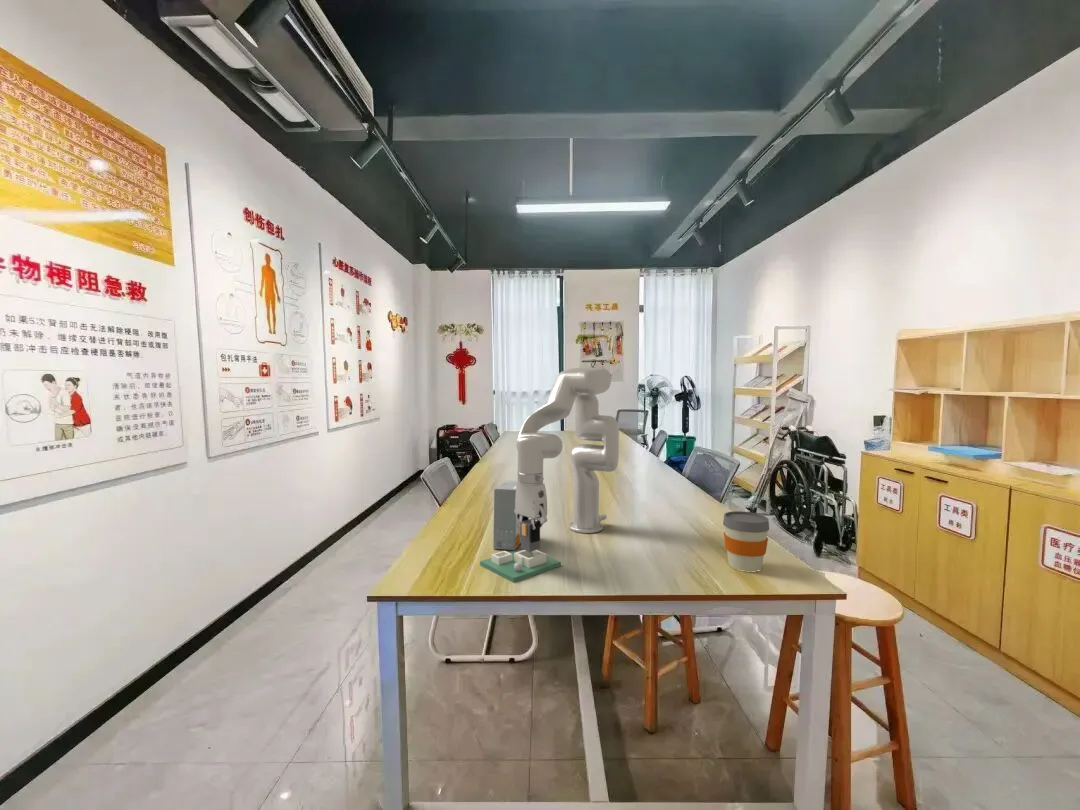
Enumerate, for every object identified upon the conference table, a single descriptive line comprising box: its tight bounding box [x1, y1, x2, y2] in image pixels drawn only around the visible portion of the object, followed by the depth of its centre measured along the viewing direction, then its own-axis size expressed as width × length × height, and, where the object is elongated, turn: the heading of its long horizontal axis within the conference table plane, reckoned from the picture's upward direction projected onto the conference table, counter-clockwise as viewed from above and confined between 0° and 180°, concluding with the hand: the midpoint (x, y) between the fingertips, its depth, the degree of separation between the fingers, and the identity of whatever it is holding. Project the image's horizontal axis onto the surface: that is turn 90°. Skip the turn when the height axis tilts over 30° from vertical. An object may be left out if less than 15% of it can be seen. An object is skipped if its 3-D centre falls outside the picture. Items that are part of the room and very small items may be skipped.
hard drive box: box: [492, 479, 521, 551], centre depth 160 cm, size 16×8×20 cm, turn 168°
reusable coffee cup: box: [722, 510, 770, 571], centre depth 139 cm, size 13×13×15 cm
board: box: [479, 548, 562, 583], centre depth 140 cm, size 18×16×3 cm
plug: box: [520, 518, 541, 552], centre depth 139 cm, size 4×4×8 cm
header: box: [514, 549, 547, 568], centre depth 139 cm, size 7×7×2 cm
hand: (530, 538), depth 139 cm, fingers closed on plug, 4 cm apart
